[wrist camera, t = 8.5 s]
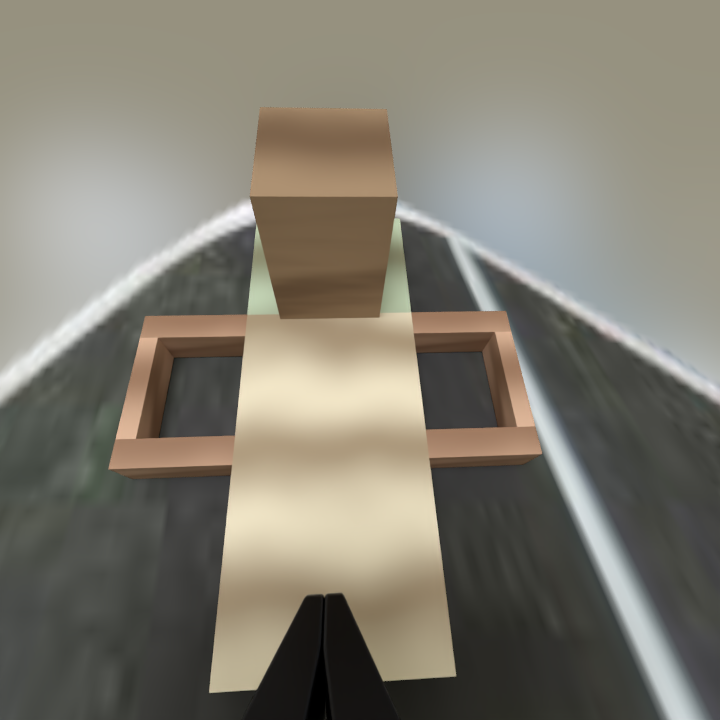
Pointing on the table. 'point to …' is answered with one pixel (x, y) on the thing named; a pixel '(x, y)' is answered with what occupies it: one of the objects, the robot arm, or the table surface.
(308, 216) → the walnut block
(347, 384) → the track
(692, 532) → the table surface
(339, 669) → the robot arm
